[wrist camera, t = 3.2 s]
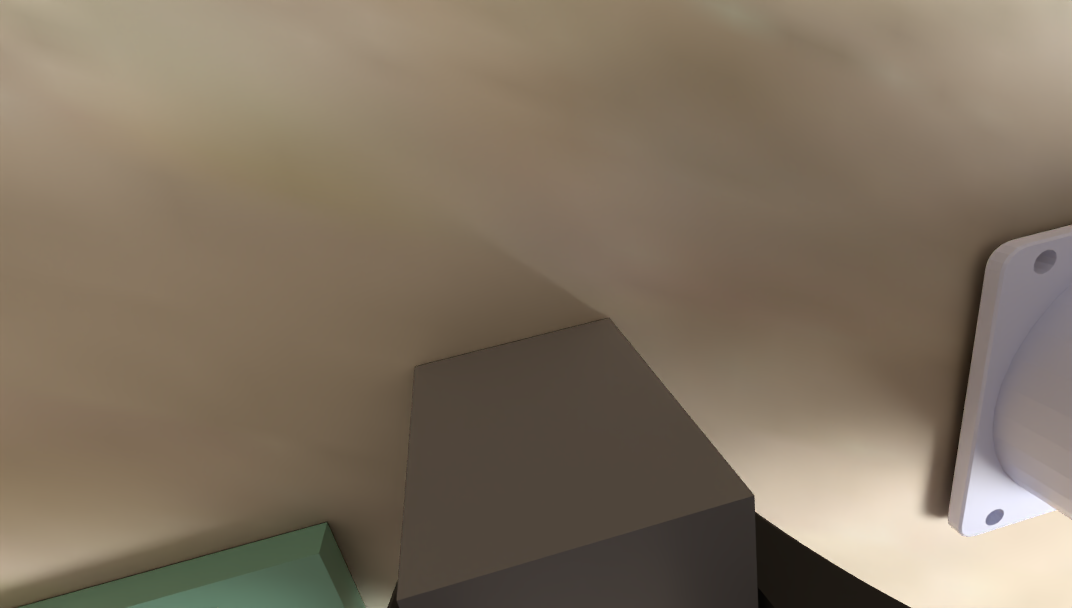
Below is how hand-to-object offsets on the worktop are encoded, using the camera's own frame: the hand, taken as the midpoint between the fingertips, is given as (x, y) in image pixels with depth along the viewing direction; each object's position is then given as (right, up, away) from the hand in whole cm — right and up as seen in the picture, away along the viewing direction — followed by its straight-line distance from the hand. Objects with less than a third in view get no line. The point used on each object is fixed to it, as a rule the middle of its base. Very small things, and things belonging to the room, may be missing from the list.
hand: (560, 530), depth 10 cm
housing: (0, +1, +1) cm, 1 cm away
